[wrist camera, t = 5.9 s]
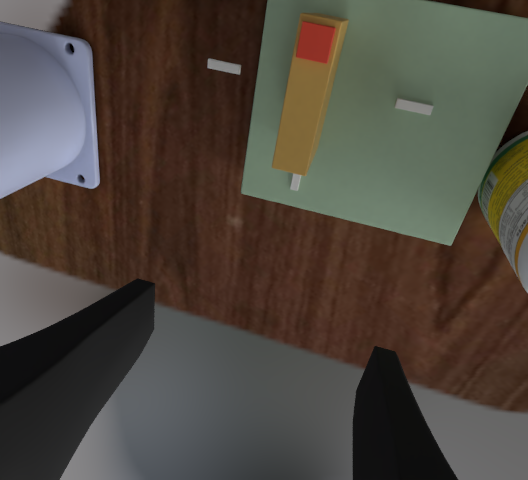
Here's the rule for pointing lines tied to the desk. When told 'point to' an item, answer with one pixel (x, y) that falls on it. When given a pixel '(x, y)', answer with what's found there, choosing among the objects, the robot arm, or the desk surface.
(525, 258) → the supplement bottle
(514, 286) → the desk surface
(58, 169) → the robot arm
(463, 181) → the lock plate
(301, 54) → the block
